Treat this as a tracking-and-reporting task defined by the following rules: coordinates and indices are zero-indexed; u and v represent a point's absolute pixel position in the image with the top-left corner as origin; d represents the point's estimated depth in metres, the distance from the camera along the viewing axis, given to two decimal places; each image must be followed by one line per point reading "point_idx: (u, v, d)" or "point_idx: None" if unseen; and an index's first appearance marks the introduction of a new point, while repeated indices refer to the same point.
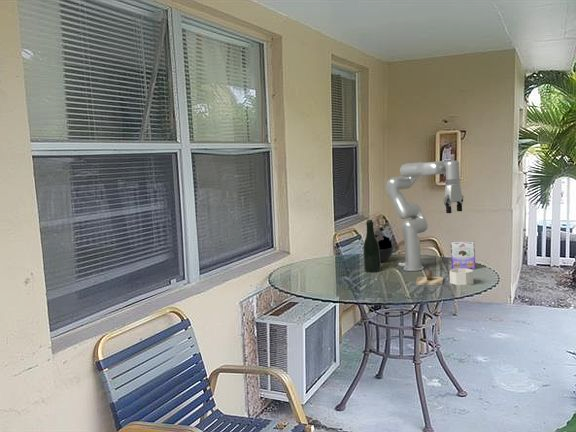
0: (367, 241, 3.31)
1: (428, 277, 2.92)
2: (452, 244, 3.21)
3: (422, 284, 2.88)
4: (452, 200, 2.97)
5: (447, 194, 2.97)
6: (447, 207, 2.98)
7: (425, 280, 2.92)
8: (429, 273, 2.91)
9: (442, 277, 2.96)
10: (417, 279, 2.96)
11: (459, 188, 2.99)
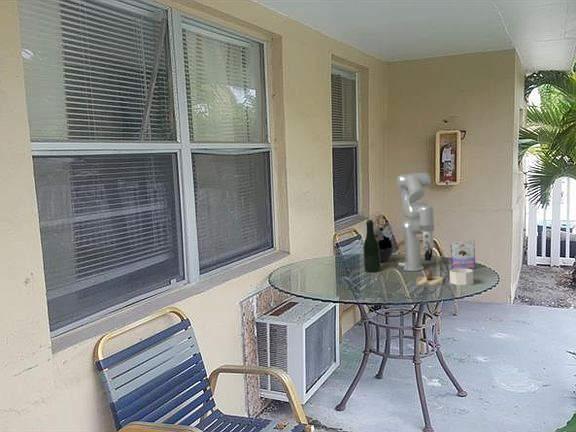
0: (367, 241, 3.31)
1: (428, 277, 2.92)
2: (452, 244, 3.21)
3: (422, 284, 2.88)
4: None
5: None
6: None
7: (425, 280, 2.92)
8: (429, 273, 2.91)
9: (442, 277, 2.96)
10: (417, 279, 2.96)
11: None
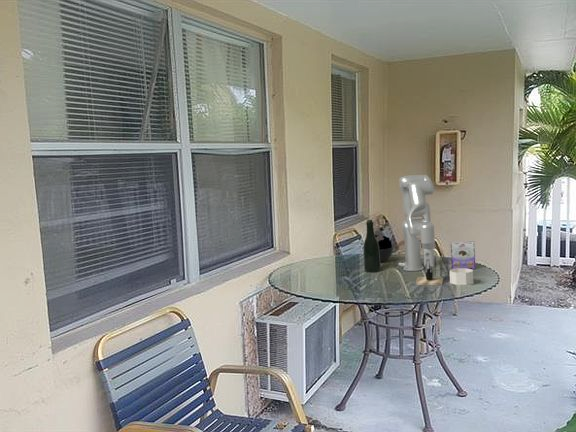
0: (367, 241, 3.31)
1: None
2: (452, 244, 3.21)
3: (422, 284, 2.88)
4: None
5: None
6: None
7: (425, 280, 2.92)
8: None
9: (442, 277, 2.96)
10: (417, 279, 2.96)
11: (423, 253, 2.90)
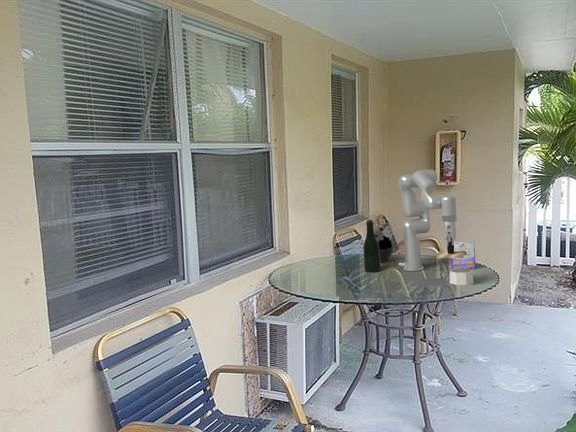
0: (367, 241, 3.31)
1: None
2: None
3: (443, 257, 2.82)
4: None
5: None
6: None
7: (446, 254, 2.87)
8: None
9: (464, 251, 2.90)
10: (438, 253, 2.90)
11: None
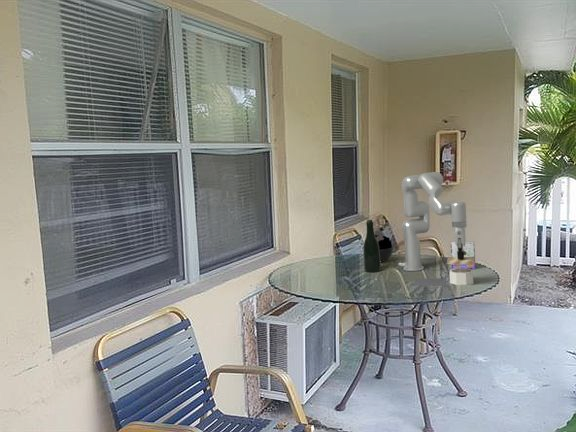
0: (367, 241, 3.31)
1: None
2: (452, 244, 3.21)
3: (454, 263, 2.81)
4: None
5: None
6: None
7: (456, 260, 2.85)
8: None
9: (473, 257, 2.89)
10: (448, 259, 2.89)
11: None
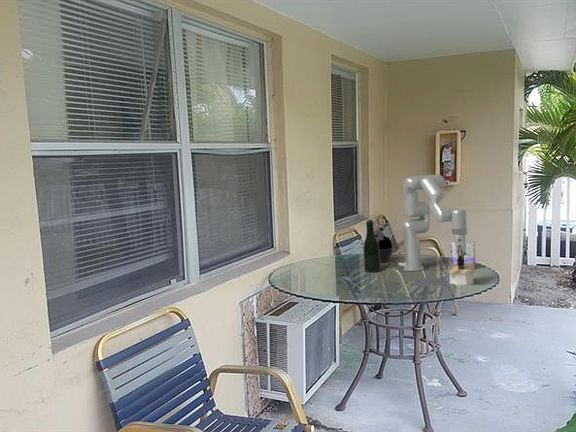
0: (367, 241, 3.31)
1: (460, 266, 2.85)
2: (452, 244, 3.21)
3: None
4: None
5: None
6: None
7: (456, 269, 2.86)
8: None
9: (473, 266, 2.90)
10: (448, 268, 2.90)
11: (455, 239, 2.83)
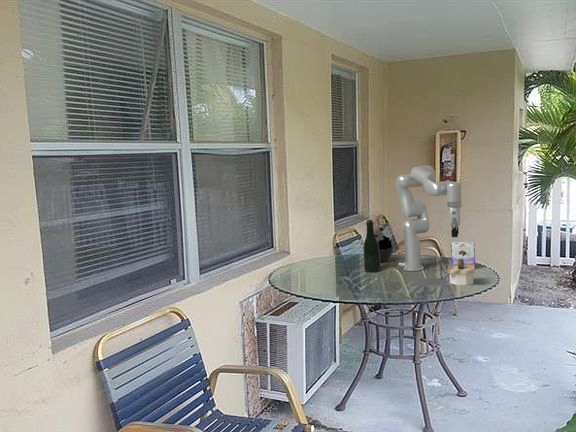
0: (367, 241, 3.31)
1: (460, 266, 2.85)
2: (452, 244, 3.21)
3: None
4: None
5: None
6: None
7: (456, 269, 2.86)
8: (461, 261, 2.85)
9: (473, 266, 2.90)
10: (448, 268, 2.90)
11: None
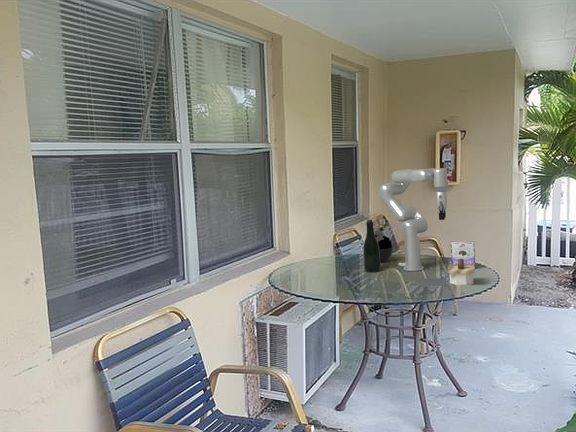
0: (367, 241, 3.31)
1: (460, 266, 2.85)
2: (452, 244, 3.21)
3: None
4: None
5: None
6: None
7: (456, 269, 2.86)
8: (461, 261, 2.85)
9: (473, 266, 2.90)
10: (448, 268, 2.90)
11: None
